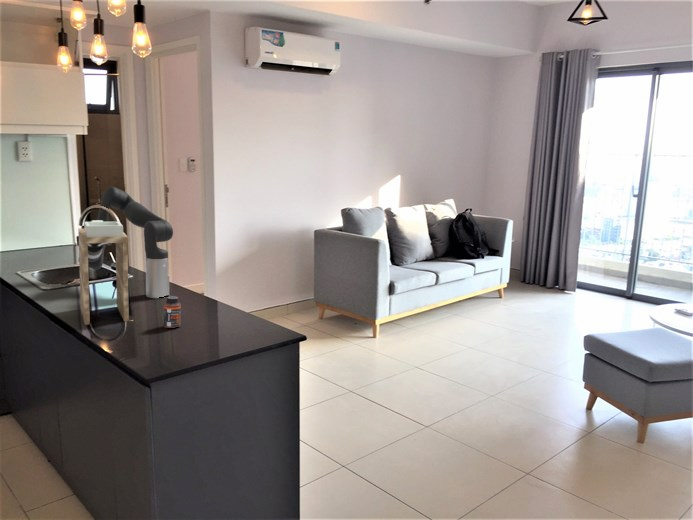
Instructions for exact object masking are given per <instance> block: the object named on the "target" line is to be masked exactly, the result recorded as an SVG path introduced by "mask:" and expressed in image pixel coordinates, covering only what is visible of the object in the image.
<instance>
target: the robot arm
mask: <svg viewBox="0 0 693 520" xmlns="http://www.w3.org/2000/svg"><path fill="white" fill-rule="evenodd" d="M100 206H104V207H106V208H108V209H109V210H110V208H113V209H115V210H118V211H121V212H123V214H124V217H125V218H126V219H127V221H129V222H130V223H131V224H133V225H134V226H136V227H138V228H142V229H143V238H144V252H145V295H146V297H147V298H149V299H160V298H159V297H164V296H166V295H169V296H170V275H169V251H168V250H166V249H162V248H160V247H158V243H162V242H163V243H164V242H169V241H170V240H171V239H172V238H173V236H174V229H173V227H172V225H171V223H170V222H168V221H167V220H166V219H164V218H162V217H160V216H158V215H156V214H155V213H153V212H152V211H150V210H149V209H148V208H146V206H144V205H143V204H141V203H140V202H138V201H136V200H134V199H133V197H131V195H130V194H129V193H127V192H126V191H124V190H122V189H120V188H117V187H115V186H111V185H110V186H108V187H107V188H106V189H105V191H103V194H102V197H101V200H100V205H99V210H98V214H97V219H96V220H103V222H110V220H109V212H106V210H102V208H100ZM75 238H76V247H79V235H77V236H76V237H75ZM112 244H113V243H88V269H92V270H100V269H102V267H103V264H104V253H105V248H106V245H107V246H112ZM164 298H165V297H164Z"/></svg>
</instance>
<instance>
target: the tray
mask: <svg viewBox="0 0 693 520" xmlns="http://www.w3.org/2000/svg"><path fill="white" fill-rule="evenodd" d="M83 224H84V225H83V226H84V227H83V228H85V234H86V236H87V237H123V232H124V225H123V224H122V223H121V221H109V222H103V220H97V219H96V220H94V219H93V220H91V221H84V223H83Z"/></svg>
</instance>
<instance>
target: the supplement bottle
mask: <svg viewBox="0 0 693 520" xmlns="http://www.w3.org/2000/svg"><path fill="white" fill-rule="evenodd" d="M181 305H182V304H181V302H179V297H178V296H175V295H169V297H166V302H164V304H163V327H164V328H165V329H167V328H175V327H178V326H180V327H181V319H182V318H181V315H182V314H181V312H182V306H181Z"/></svg>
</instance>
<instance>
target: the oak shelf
mask: <svg viewBox="0 0 693 520" xmlns="http://www.w3.org/2000/svg"><path fill="white" fill-rule="evenodd" d="M77 230H78V233H77V234H78V236H79V246H78V255H79V257H78V263H79V290H80V291H79V293H80V294H79V295H80V311H81V315H82V318H83V323H84V325H90V324H91V323H90V322H91V321H90V319H91V318H90V315H91V314H90V287H89V285H90V281H89V267H88V243H112V244H113V243H114V244H115V269H116V270H115V271H116V273H115V274H116V275H115V276H116V308H117V309H118V312H119V314H120V316H121V317H122V319H123V322H129V320H130V317H129V315H130V314H129V313H130V312H129V309H130V307H129V306H130V305H129V252H128V251H129V247H128V245H129V237H128V235H127V234H126V233H125V232H124V231H123V237H87V236H86V234H85V227H83V228H79V227H78V229H77Z"/></svg>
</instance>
